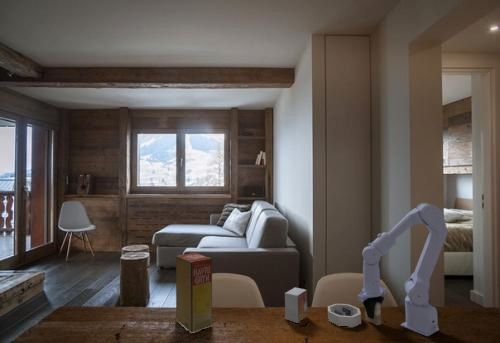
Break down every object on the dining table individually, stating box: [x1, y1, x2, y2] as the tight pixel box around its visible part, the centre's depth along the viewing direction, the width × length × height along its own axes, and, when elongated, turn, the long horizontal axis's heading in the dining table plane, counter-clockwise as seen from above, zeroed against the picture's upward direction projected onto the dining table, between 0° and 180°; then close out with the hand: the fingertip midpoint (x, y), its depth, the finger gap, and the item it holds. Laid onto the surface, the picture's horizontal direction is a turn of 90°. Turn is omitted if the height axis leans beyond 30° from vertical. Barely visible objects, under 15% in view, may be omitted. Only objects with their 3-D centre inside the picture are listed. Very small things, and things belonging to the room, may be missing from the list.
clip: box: [335, 306, 353, 316], centre depth 114 cm, size 4×6×3 cm
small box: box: [284, 287, 308, 324], centre depth 115 cm, size 8×6×10 cm
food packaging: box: [175, 252, 213, 332], centre depth 113 cm, size 13×9×25 cm
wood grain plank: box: [364, 302, 382, 326], centre depth 111 cm, size 5×2×8 cm, turn 33°
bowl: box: [327, 303, 362, 328], centre depth 114 cm, size 12×12×4 cm
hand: (372, 316), depth 111 cm, fingers closed on wood grain plank, 2 cm apart
